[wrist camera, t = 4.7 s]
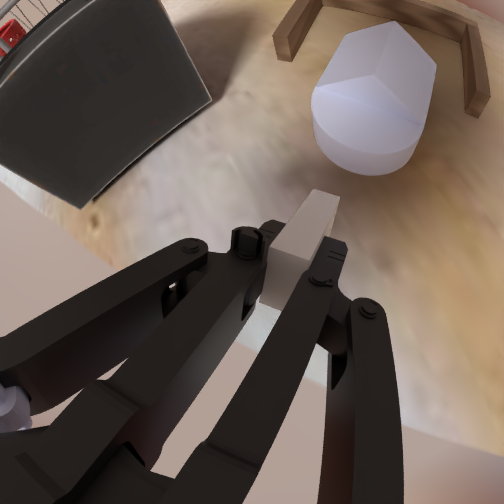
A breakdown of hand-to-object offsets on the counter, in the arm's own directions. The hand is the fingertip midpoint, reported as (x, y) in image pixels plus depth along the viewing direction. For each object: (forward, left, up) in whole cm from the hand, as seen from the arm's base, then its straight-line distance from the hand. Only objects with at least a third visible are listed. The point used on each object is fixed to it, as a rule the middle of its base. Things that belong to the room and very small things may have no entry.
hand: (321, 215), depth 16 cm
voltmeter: (+24, -7, -6) cm, 26 cm away
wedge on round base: (-1, -13, -6) cm, 14 cm away
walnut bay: (-1, -24, -6) cm, 24 cm away
